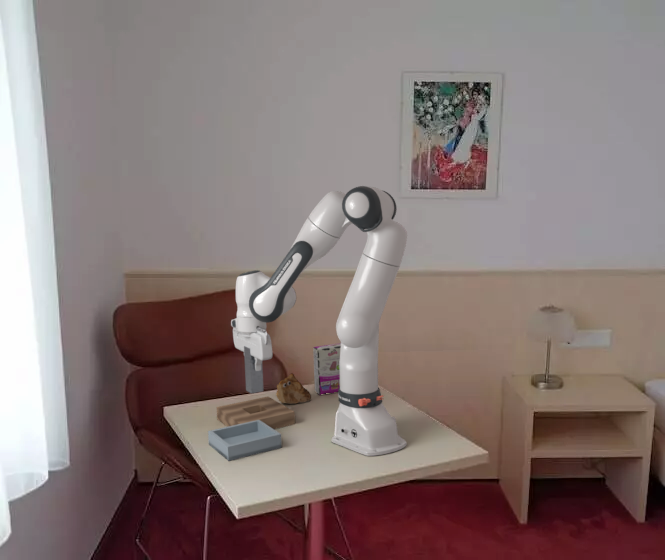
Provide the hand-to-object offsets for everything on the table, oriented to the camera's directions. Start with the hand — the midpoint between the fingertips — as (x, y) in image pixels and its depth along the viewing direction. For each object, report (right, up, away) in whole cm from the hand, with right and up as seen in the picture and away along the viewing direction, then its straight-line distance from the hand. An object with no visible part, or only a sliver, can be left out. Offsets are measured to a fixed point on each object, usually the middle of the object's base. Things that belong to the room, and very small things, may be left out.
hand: (253, 368), depth 213 cm
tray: (-1, -20, -16) cm, 26 cm away
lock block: (0, -17, +3) cm, 17 cm away
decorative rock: (+11, -14, +19) cm, 27 cm away
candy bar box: (+24, -12, +31) cm, 41 cm away
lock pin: (0, -7, +1) cm, 7 cm away
